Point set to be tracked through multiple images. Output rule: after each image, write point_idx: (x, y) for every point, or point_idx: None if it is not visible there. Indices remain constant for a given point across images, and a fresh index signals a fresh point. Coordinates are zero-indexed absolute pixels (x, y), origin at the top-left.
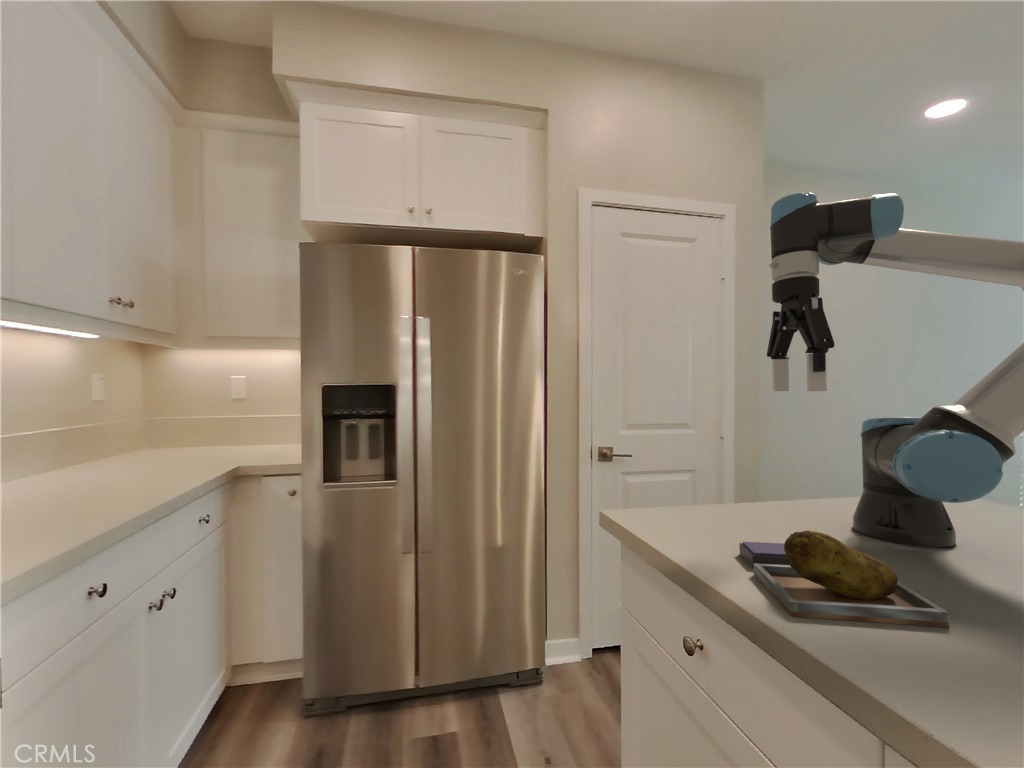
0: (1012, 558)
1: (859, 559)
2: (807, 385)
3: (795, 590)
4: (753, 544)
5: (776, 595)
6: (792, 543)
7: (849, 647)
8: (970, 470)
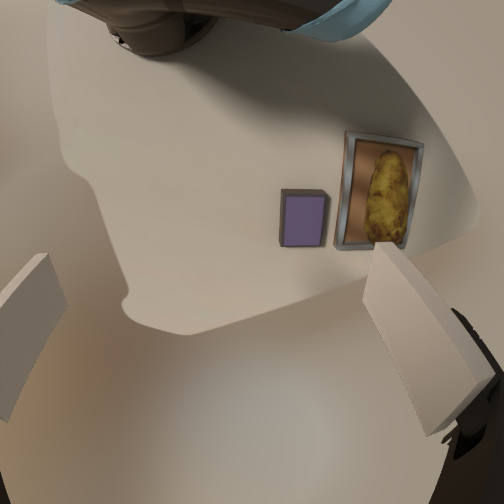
0: None
1: (405, 192)
2: (373, 315)
3: None
4: (293, 237)
5: None
6: None
7: (430, 226)
8: None
